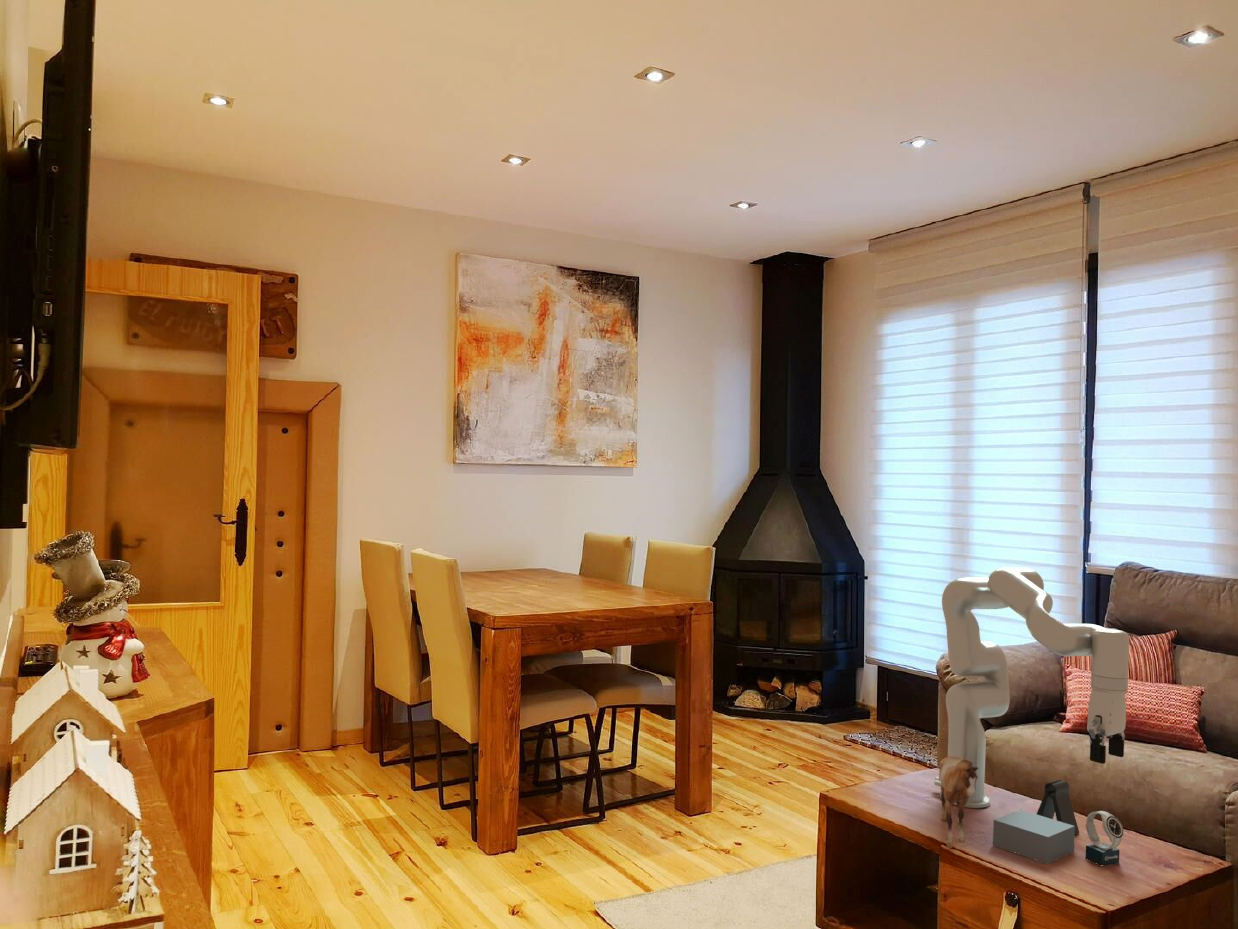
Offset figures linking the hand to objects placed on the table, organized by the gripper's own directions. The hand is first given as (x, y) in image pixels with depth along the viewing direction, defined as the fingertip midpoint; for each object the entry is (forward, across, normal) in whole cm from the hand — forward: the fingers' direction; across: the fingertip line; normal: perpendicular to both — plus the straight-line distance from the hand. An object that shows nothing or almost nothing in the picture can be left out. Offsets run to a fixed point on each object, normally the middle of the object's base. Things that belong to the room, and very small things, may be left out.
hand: (1106, 759), depth 215 cm
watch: (+23, 0, 0) cm, 23 cm away
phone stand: (+23, -11, -16) cm, 30 cm away
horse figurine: (+23, +11, -27) cm, 38 cm away
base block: (+23, +6, -13) cm, 27 cm away
